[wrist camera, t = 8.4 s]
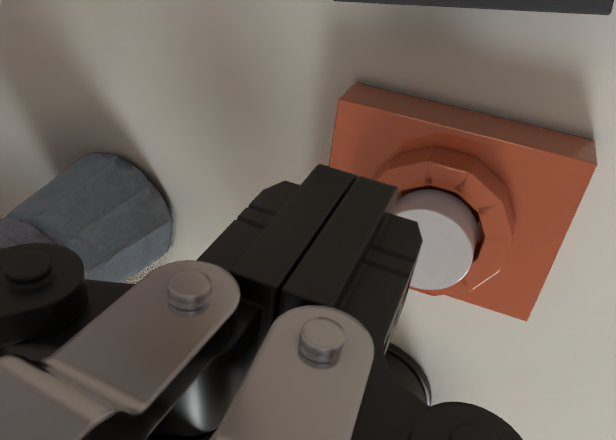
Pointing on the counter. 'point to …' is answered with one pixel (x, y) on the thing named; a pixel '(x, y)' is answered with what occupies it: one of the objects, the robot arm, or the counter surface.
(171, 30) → the counter surface
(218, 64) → the counter surface
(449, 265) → the pale grey round puck
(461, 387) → the counter surface
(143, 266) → the moka pot
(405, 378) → the french press
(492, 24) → the counter surface
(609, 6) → the dark square push button
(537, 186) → the orange button block
